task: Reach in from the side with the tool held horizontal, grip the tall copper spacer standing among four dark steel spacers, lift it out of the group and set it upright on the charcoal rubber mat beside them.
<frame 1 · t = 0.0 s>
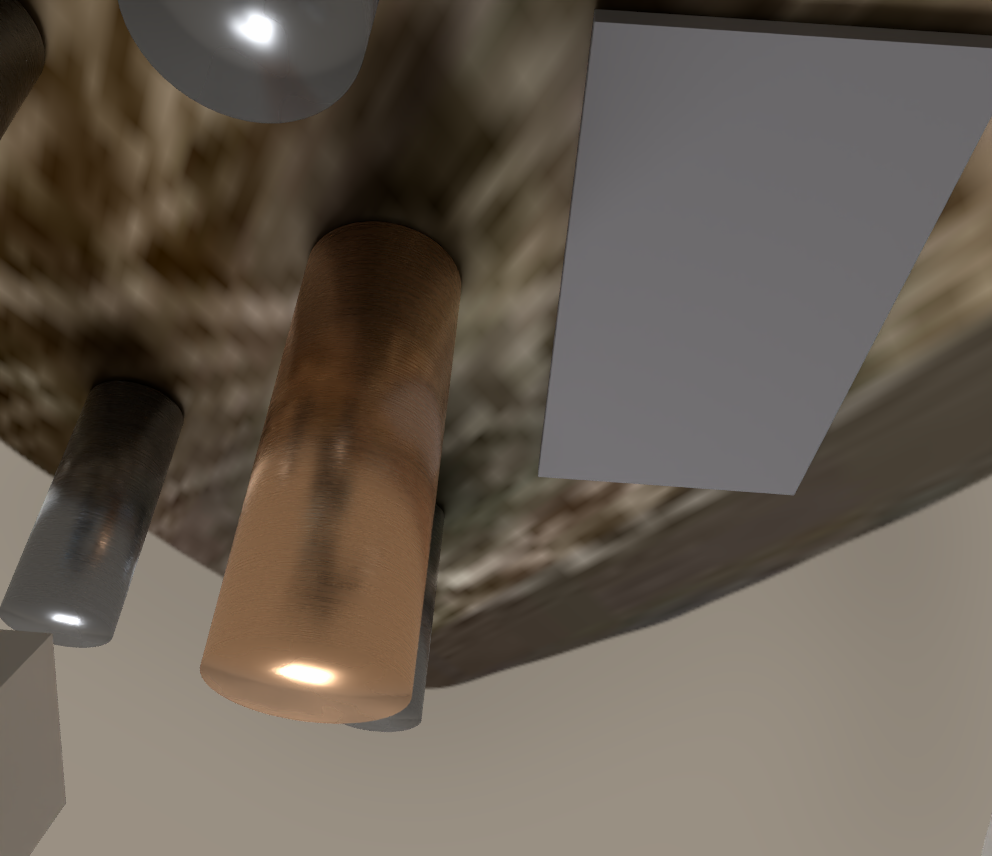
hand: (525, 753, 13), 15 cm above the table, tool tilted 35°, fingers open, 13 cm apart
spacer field: (384, 281, 27), on the table
copper spacer: (384, 281, 27), on the table
rubber mat: (718, 305, 27), on the table
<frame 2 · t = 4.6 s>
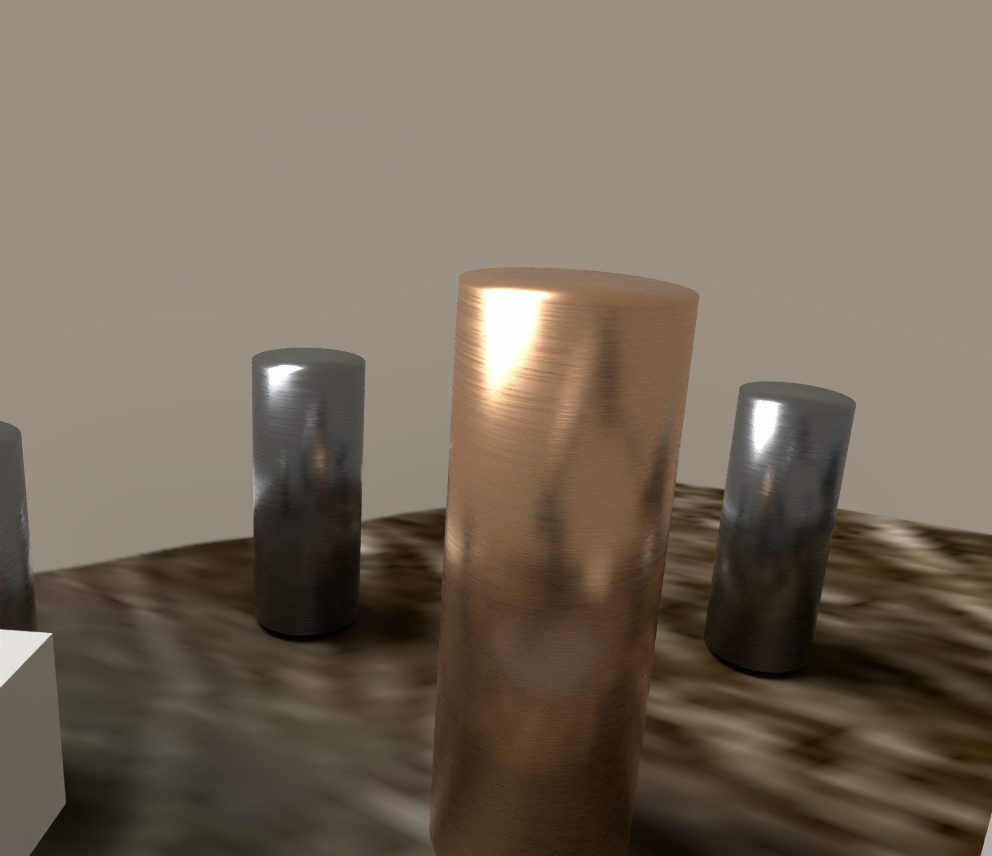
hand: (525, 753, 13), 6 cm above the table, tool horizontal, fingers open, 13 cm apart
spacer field: (529, 826, 21), on the table
copper spacer: (529, 827, 21), on the table
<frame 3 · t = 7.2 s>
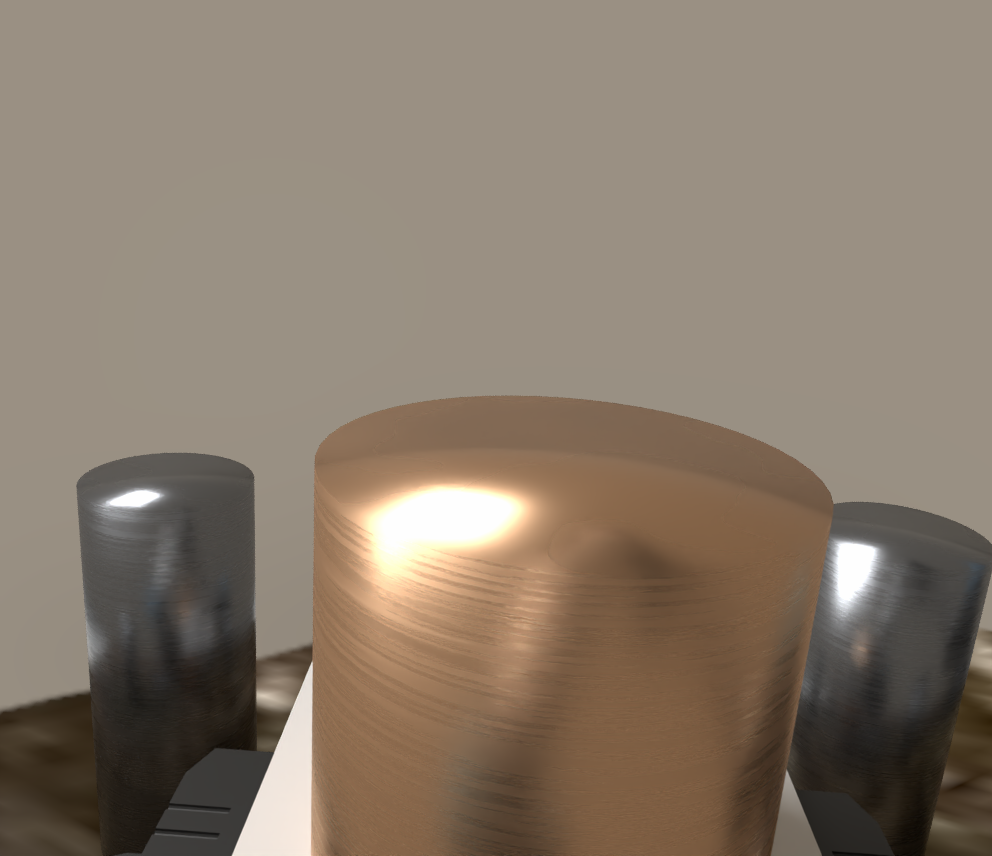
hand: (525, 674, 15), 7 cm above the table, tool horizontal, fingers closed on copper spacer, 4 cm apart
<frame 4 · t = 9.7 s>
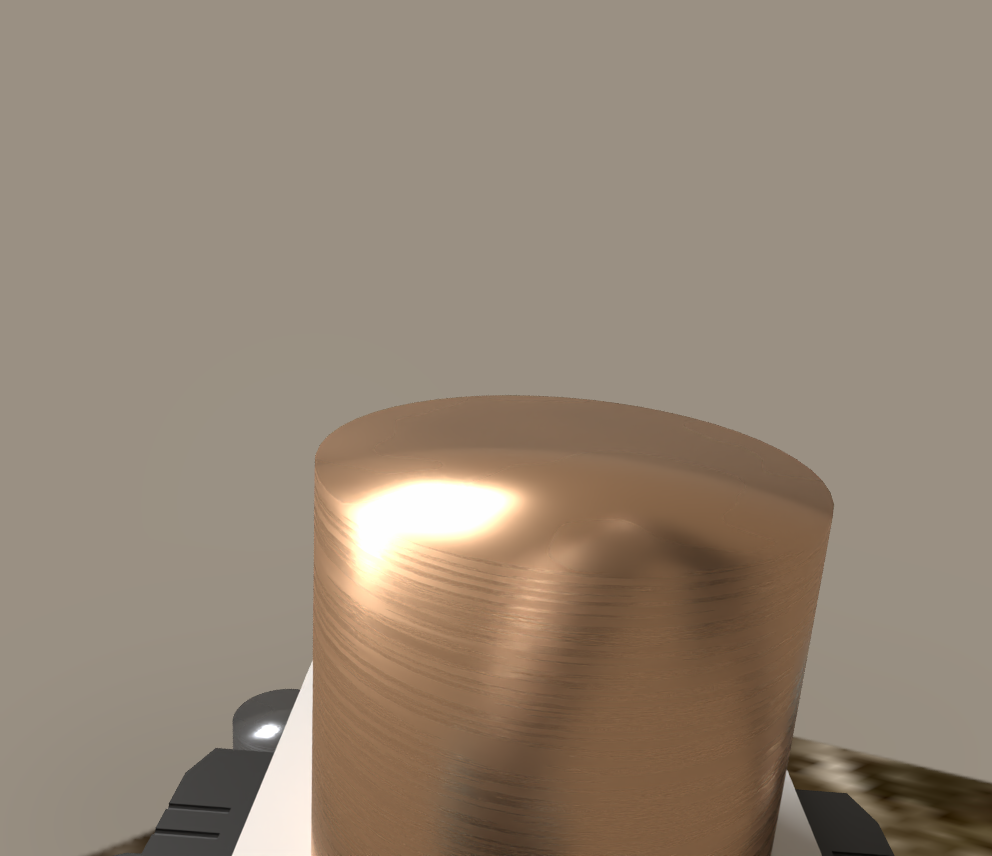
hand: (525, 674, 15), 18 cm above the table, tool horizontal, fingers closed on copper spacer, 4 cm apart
when the fingers open (8 cm above the table, at t = 12.3 s): copper spacer stays where it is, resting on rubber mat.
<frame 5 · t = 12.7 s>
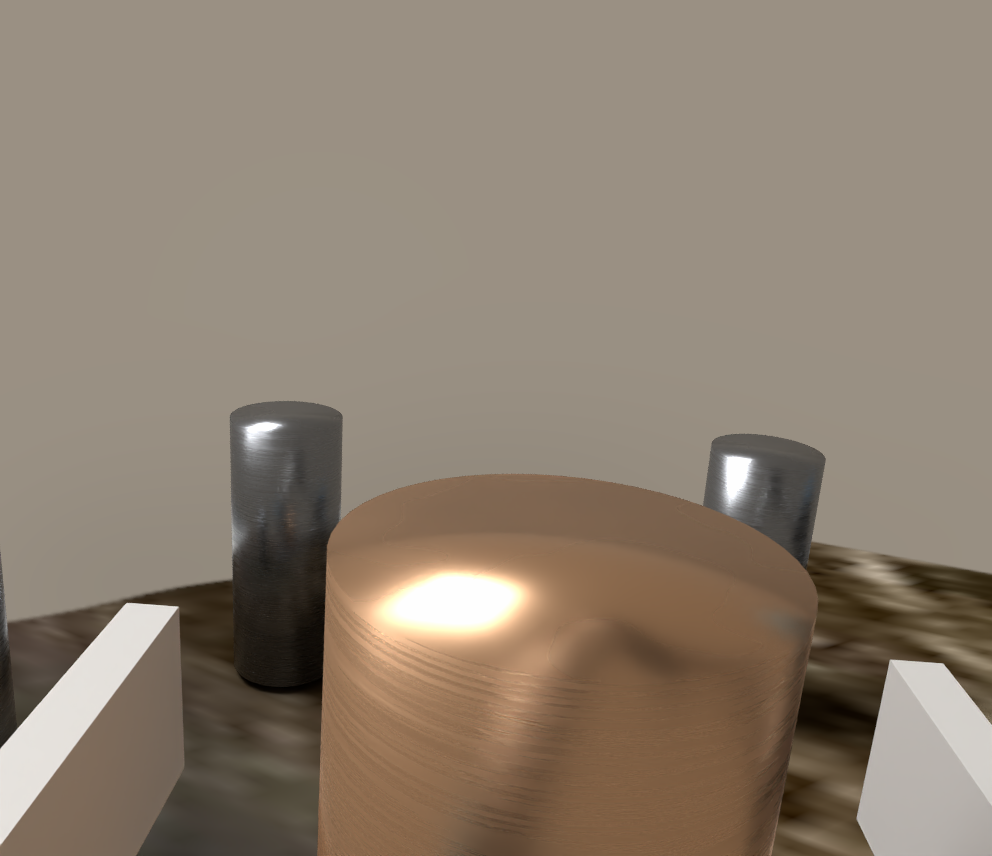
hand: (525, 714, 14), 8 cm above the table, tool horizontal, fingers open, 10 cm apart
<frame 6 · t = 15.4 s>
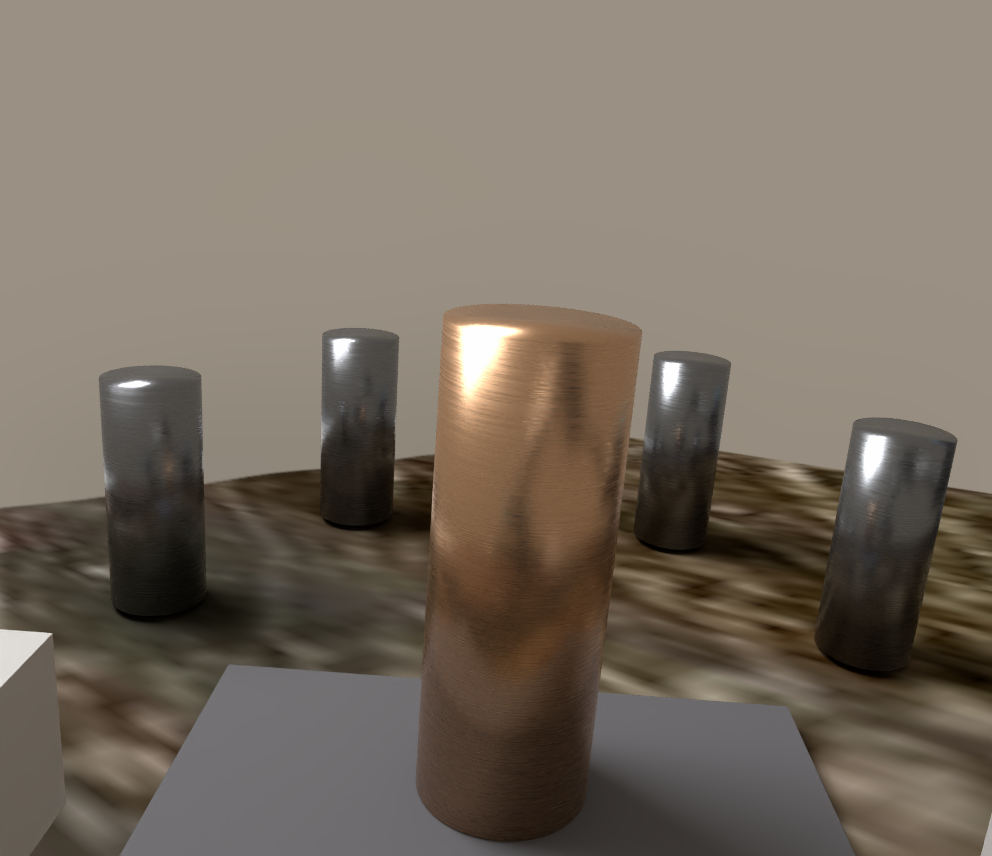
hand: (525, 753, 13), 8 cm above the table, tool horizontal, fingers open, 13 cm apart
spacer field: (509, 620, 34), on the table
copper spacer: (500, 781, 25), point 1 cm above the table, touching rubber mat
rubber mat: (502, 797, 25), on the table
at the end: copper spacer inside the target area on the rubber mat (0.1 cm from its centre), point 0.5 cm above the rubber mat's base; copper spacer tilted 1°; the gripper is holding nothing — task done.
